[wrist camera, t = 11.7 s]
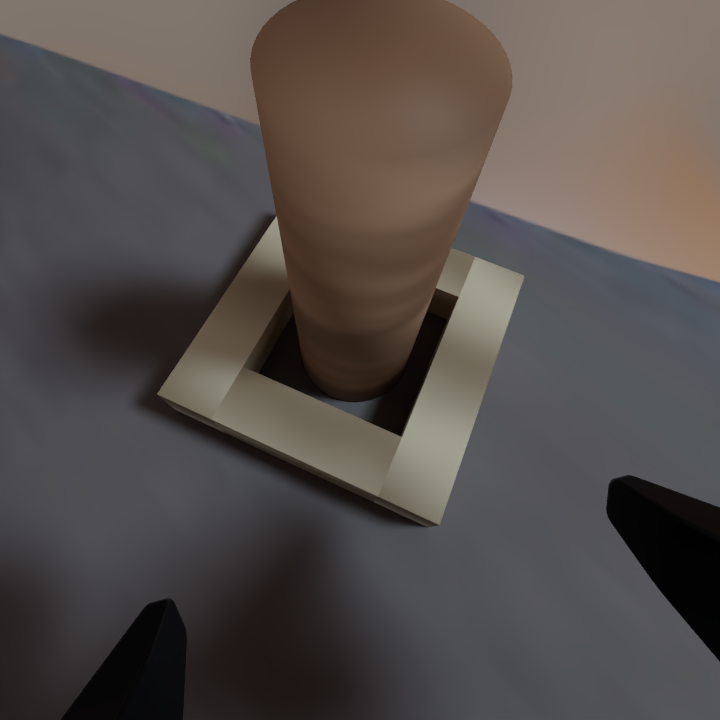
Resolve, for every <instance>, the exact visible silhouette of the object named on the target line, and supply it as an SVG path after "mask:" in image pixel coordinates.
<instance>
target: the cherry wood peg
mask: <svg viewBox="0 0 720 720" xmlns="http://www.w3.org/2000/svg"><path fill="white" fill-rule="evenodd" d="M250 62H251V75H252V80H253V86H254V91H255V97H256V103H257V108H258V114H259V119H260V125H261V131H262V136H263V142H264V148H265V153H266V159H267V164H268V170H269V176H270V181H271V187H272V192H273V198H274V204H275V209H276V215H277V220H278V226H279V232H280V237H281V243H282V248H283V254H284V260H285V265H286V271H287V276H288V282H289V288H290V293H291V299H292V304H293V310H294V316H295V321H296V327H297V332H298V338H299V344H300V349H301V355H302V360H303V365H304V368H305V371H306V373H307V375H308V377H309V378H310V380H311V381H312V382H313V383H314V384H315V386H316V387H317V388H319V389H320V390H321V391H322V392H324V393H325V394H327V395H329V396H331V397H333V398H336V399H339V400H342V401H348V402H362V401H367V400H372V399H374V398H377V397H379V396H381V395H383V394H385V393H386V392H387V391H389V390H390V389H391V388H392V387H393V386H394V385H395V384H396V383H397V382H398V380H399V379H400V377H401V375H402V373H403V371H404V368H405V366H406V363H407V361H408V358H409V356H410V353H411V350H412V348H413V345H414V343H415V340H416V337H417V335H418V332H419V330H420V327H421V325H422V322H423V319H424V317H425V314H426V312H427V309H428V307H429V304H430V301H431V299H432V296H433V294H434V291H435V289H436V286H437V283H438V281H439V278H440V276H441V273H442V271H443V268H444V265H445V263H446V260H447V258H448V255H449V252H450V250H451V247H452V245H453V242H454V240H455V237H456V234H457V232H458V229H459V227H460V224H461V222H462V219H463V216H464V214H465V211H466V209H467V206H468V204H469V201H470V198H471V196H472V193H473V190H474V188H475V186H476V183H477V180H478V178H479V175H480V173H481V170H482V167H483V165H484V162H485V160H486V157H487V155H488V152H489V149H490V147H491V144H492V142H493V139H494V137H495V134H496V131H497V129H498V126H499V124H500V121H501V118H502V116H503V113H504V110H505V108H506V105H507V103H508V100H509V97H510V94H511V89H512V71H511V66H510V62H509V59H508V57H507V54H506V52H505V50H504V49H503V47H502V45H501V43H500V42H499V41H498V40H497V38H496V37H495V36H494V34H493V33H492V32H491V31H490V30H489V29H488V28H487V27H486V26H485V25H484V24H483V23H481V22H480V21H479V20H477V19H476V18H475V17H474V16H472V15H471V14H469V13H468V12H466V11H465V10H463V9H461V8H459V7H458V6H455V5H454V4H452V3H450V2H447V1H445V0H297V1H294V2H292V3H290V4H289V5H287V6H286V7H284V8H283V9H281V10H280V11H278V13H276V14H275V15H274V16H273V17H271V18H270V19H269V21H268V22H267V23H266V24H265V25H264V26H263V27H262V29H261V31H260V32H259V34H258V35H257V37H256V40H255V42H254V45H253V47H252V52H251V58H250Z"/></svg>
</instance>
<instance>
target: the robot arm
mask: <svg viewBox="0 0 720 720" xmlns="http://www.w3.org/2000/svg"><path fill="white" fill-rule="evenodd" d="M606 511H607V515H608V518H609V520H610V521H611V523H612V524H613V526H614V527H615V529H616V530H617V531H618V533H619V534H620V536H621V537H622V539H623V540H624V541H625V543H626V544H627V546H628V547H629V548H630V550H631V551H632V553H633V554H634V556H635V557H636V558H637V560H638V561H639V563H640V564H641V565H642V567H643V568H644V570H645V571H646V572H647V574H648V575H649V577H650V578H651V579H652V581H653V582H654V583H655V585H656V586H657V587H658V589H659V590H660V591H661V592H662V594H663V595H664V596H665V597H666V599H667V600H668V601H669V602H670V603H671V604H672V606H673V607H674V608H675V609H676V610H677V612H678V613H679V614H680V615H681V616H682V617H683V619H684V620H685V621H686V622H687V623H688V625H689V626H690V627H691V628H692V629H693V630H694V632H695V633H696V634H697V635H698V636H699V638H700V639H701V640H702V641H703V642H704V643H705V645H706V646H707V647H708V648H709V649H710V651H711V652H712V653H713V654H714V655H715V656H716V658H717V659H718V660H719V661H720V507H717V506H714V505H712V504H709V503H706V502H703V501H701V500H698V499H695V498H692V497H690V496H687V495H684V494H681V493H679V492H676V491H673V490H670V489H668V488H665V487H662V486H659V485H657V484H654V483H651V482H648V481H646V480H643V479H640V478H637V477H635V476H631V475H626V476H623V477H619V478H615V479H612V480H611V481H610V483H609V487H608V497H607V506H606ZM186 646H187V635H186V629H185V626H184V623H183V621H182V619H181V616H180V614H179V612H178V610H177V607H176V605H175V603H174V601H173V600H172V599H170V598H166V599H163V600H159V601H155V602H152V603H149V604H148V605H147V606H145V607H144V609H143V610H142V611H141V613H140V614H139V615H138V617H137V618H136V619H135V621H134V622H133V623H132V625H131V626H130V627H129V629H128V630H127V631H126V633H125V634H124V635H123V637H122V638H121V639H120V641H119V642H118V644H117V645H116V646H115V648H114V649H113V650H112V652H111V653H110V654H109V656H108V657H107V658H106V660H105V661H104V662H103V664H102V665H101V666H100V668H99V669H98V670H97V672H96V673H95V674H94V676H93V677H92V678H91V680H90V681H89V682H88V684H87V685H86V686H85V688H84V689H83V690H82V692H81V693H80V694H79V696H78V697H77V699H76V700H75V701H74V703H73V704H72V705H71V707H70V708H69V709H68V711H67V712H66V713H65V715H64V716H63V717H62V719H61V720H183V706H184V686H185V666H186Z"/></svg>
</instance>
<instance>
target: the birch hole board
mask: <svg viewBox="0 0 720 720" xmlns="http://www.w3.org/2000/svg"><path fill="white" fill-rule="evenodd" d="M523 279H524V276H523V275H521V274H518V273H516V272H513V271H510V270H508V269H505V268H503V267H500V266H497V265H495V264H492V263H490V262H487V261H484V260H482V259H479V258H477V257H474V256H472V255H469V254H466V253H464V252H461V251H459V250H456V249H453V248H451V250H450V252H449V255H448V258H447V260H446V263H445V265H444V268H443V271H442V273H441V276H440V278H439V281H438V283H437V286H436V289H435V291H434V294H433V296H432V299H431V301H430V304H429V307H428V309H427V312H429V313H432V314H434V315H437V316H439V317H442V318H444V319H447V322H446V325H445V327H444V330H443V332H442V334H441V337H440V339H439V342H438V344H437V347H436V349H435V352H434V354H433V356H432V359H431V361H430V364H429V366H428V369H427V371H426V374H425V376H424V379H423V381H422V383H421V386H420V388H419V391H418V393H417V396H416V398H415V401H414V403H413V405H412V408H411V410H410V413H409V415H408V418H407V420H406V423H405V425H404V427H403V430H402V432H401V435H400V436H398V435H396V434H394V433H391V432H389V431H387V430H385V429H382V428H380V427H378V426H376V425H373V424H371V423H369V422H367V421H364V420H362V419H360V418H358V417H355V416H353V415H351V414H349V413H346V412H344V411H342V410H340V409H337V408H335V407H333V406H331V405H328V404H326V403H324V402H322V401H319V400H317V399H315V398H313V397H310V396H308V395H306V394H304V393H301V392H299V391H297V390H295V389H292V388H290V387H288V386H286V385H283V384H281V383H279V382H276V381H274V380H272V379H270V378H267V377H265V376H263V375H261V374H258V373H259V372H260V370H261V368H262V366H263V365H264V363H265V361H266V360H267V358H268V356H269V354H270V353H271V351H272V349H273V347H274V346H275V344H276V342H277V341H278V339H279V337H280V335H281V334H282V332H283V330H284V329H285V327H286V325H287V323H288V322H289V320H290V318H291V316H292V315H293V313H294V310H293V304H292V299H291V293H290V288H289V282H288V276H287V271H286V265H285V260H284V254H283V248H282V243H281V237H280V232H279V226H278V220H277V216H276V218H275V219H274V221H273V222H272V223H271V225H270V226H269V228H268V229H267V231H266V232H265V234H264V235H263V237H262V238H261V240H260V241H259V243H258V244H257V246H256V247H255V249H254V250H253V252H252V253H251V255H250V256H249V258H248V259H247V261H246V262H245V264H244V265H243V267H242V268H241V270H240V271H239V273H238V274H237V276H236V277H235V279H234V280H233V282H232V283H231V285H230V286H229V288H228V289H227V291H226V292H225V294H224V295H223V297H222V298H221V299H220V301H219V302H218V304H217V305H216V307H215V308H214V310H213V311H212V313H211V314H210V316H209V317H208V319H207V320H206V322H205V323H204V325H203V326H202V328H201V329H200V331H199V332H198V334H197V335H196V337H195V338H194V340H193V341H192V343H191V344H190V346H189V347H188V349H187V350H186V352H185V353H184V355H183V356H182V358H181V359H180V361H179V362H178V364H177V365H176V367H175V368H174V370H173V371H172V373H171V374H170V375H169V377H168V378H167V380H166V381H165V383H164V384H163V386H162V387H161V389H160V390H159V392H158V393H157V395H158V396H160V397H161V398H162V399H163V400H164V401H165V402H167V403H168V404H169V405H170V406H171V407H172V408H174V409H175V410H176V411H179V412H181V413H183V414H185V415H187V416H189V417H192V418H194V419H196V420H198V421H200V422H202V423H204V424H207V425H209V426H211V427H213V428H215V429H217V430H219V431H222V432H224V433H226V434H228V435H230V436H232V437H235V438H237V439H239V440H241V441H243V442H245V443H247V444H250V445H252V446H254V447H256V448H258V449H260V450H262V451H265V452H267V453H269V454H271V455H273V456H275V457H277V458H280V459H282V460H284V461H286V462H288V463H290V464H293V465H295V466H297V467H299V468H301V469H303V470H305V471H308V472H310V473H312V474H314V475H316V476H318V477H320V478H323V479H325V480H327V481H329V482H331V483H333V484H336V485H338V486H340V487H342V488H344V489H346V490H348V491H351V492H353V493H355V494H357V495H359V496H361V497H363V498H366V499H368V500H370V501H372V502H374V503H376V504H379V505H381V506H383V507H385V508H387V509H389V510H391V511H394V512H396V513H398V514H400V515H402V516H404V517H406V518H409V519H411V520H413V521H415V522H417V523H419V524H421V525H424V526H426V527H432V526H437V525H440V522H441V519H442V516H443V513H444V510H445V507H446V505H447V502H448V499H449V496H450V493H451V490H452V487H453V484H454V481H455V478H456V475H457V472H458V469H459V466H460V463H461V461H462V458H463V455H464V452H465V449H466V446H467V443H468V440H469V437H470V434H471V431H472V428H473V425H474V422H475V419H476V417H477V414H478V411H479V408H480V405H481V402H482V399H483V396H484V393H485V390H486V387H487V384H488V381H489V378H490V375H491V373H492V370H493V367H494V364H495V361H496V358H497V355H498V352H499V349H500V346H501V343H502V340H503V337H504V334H505V331H506V329H507V326H508V323H509V320H510V317H511V314H512V311H513V308H514V305H515V302H516V299H517V296H518V293H519V290H520V287H521V285H522V282H523Z"/></svg>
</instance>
